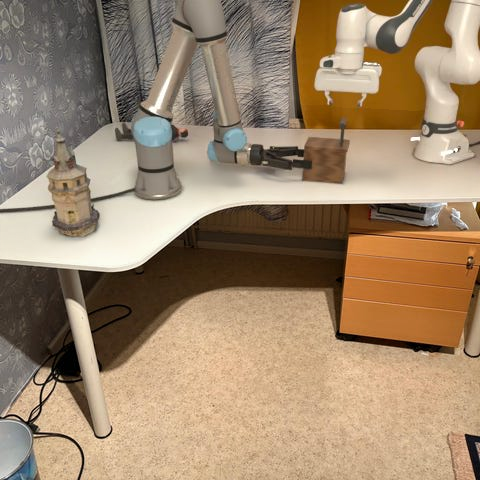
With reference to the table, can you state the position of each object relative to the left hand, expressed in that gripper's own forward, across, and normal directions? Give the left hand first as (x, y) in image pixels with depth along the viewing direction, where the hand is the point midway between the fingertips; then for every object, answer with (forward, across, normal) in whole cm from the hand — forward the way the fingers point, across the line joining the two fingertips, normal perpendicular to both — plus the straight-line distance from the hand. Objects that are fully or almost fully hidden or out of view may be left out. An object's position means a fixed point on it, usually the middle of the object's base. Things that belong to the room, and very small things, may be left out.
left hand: (313, 159), depth 185 cm
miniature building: (-61, +55, -6) cm, 82 cm away
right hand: (+9, 0, +19) cm, 21 cm away
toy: (-70, -24, -6) cm, 74 cm away
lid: (+4, 0, +5) cm, 7 cm away
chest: (+4, 0, -6) cm, 7 cm away
